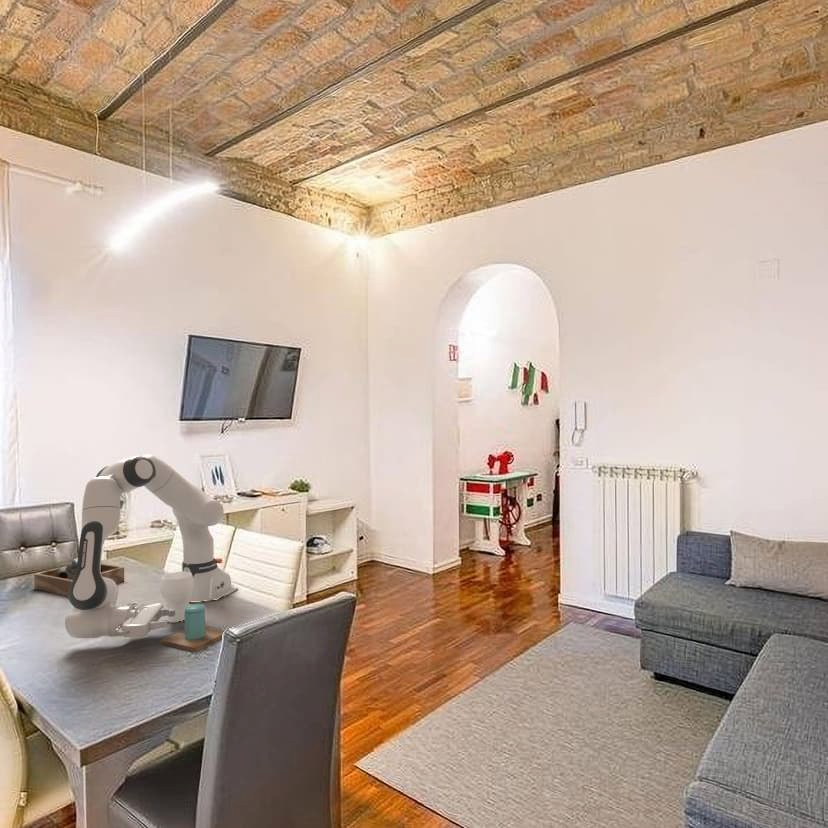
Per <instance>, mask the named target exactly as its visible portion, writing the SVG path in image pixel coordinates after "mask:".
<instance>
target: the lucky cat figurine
mask: <svg viewBox="0 0 828 828" xmlns="http://www.w3.org/2000/svg"><path fill="white" fill-rule="evenodd" d="M77 560H78V557H75V558H74V559H73V560H72V561H71V563H68V565H65V566H66V567H64V566H62V567H63V568H61V569H59V570H58V571H57V572H56V574H55V575H54V576H55V577H59V578H64V579H69V580H73V579H74V577H75V574H76V569H77Z"/></svg>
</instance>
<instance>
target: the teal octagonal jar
mask: <svg viewBox="0 0 828 828" xmlns="http://www.w3.org/2000/svg"><path fill="white" fill-rule="evenodd" d="M184 615H185V621H184V630H185V639H189V640H193V639H200V638H202V637H204V636H205V635H206V627H207V626H206V605H205V604H202V603H195V604H193V603H192V604H188V606H187V607H185V613H184Z"/></svg>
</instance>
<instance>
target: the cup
mask: <svg viewBox="0 0 828 828" xmlns="http://www.w3.org/2000/svg"><path fill="white" fill-rule="evenodd" d="M193 588H194V580H193V576H192V573H190V572H182V571H174V572H169V573H166V574H164V575H162V578H161V582H160V593H161V595H162V598H163V599H164V602H165V604H166V609H169V610H176V614H175V616H173V617H169V616H165V617H166V618H165V620H168V623H180V622H179V621H181V622H184V621H183V620H185V615H184V613H185V607H187V606H189V605H190V603H189V599H190V597H191V595H192V592H193Z"/></svg>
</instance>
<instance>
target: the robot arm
mask: <svg viewBox="0 0 828 828" xmlns="http://www.w3.org/2000/svg"><path fill="white" fill-rule="evenodd" d="M140 487H141V488H142V487H144V488H145V489H147V490H148V491H149V492H150V493H152V494H153V495H154V496H155V497H157V498H158V499H159V500H160V501H161V502H163V503H164V504H165V505H167V506H169V507H171V509H172V513H173V516H175V518H176V520H177V524H178V528H179V530H180V535H181V541H182V555H183V556H182V557H183V560H182V562H181V563H182V564H181V570H182V571H181V572H190V573H192V576H193V580H194V588H193V592H192V595H191V597H190V599H189V602H191V601H204V600H214V599H218V598H220V597H222V596H224V595H226V596H228V595H230V594H231V593H233V592H235V591H237V590H238V588H239V587H238V586H237V585H235V584H233V583H232V579H231V578H232V577H231V575H230V574H229V573H228V572H226V571H225V570H224V569H222V568H220V567H219V566H218V564H220V565H221V564H222V562H223V558H222V557H221V558H219V557H216V558H215V554H214V553H215V550H214V549H215V545H214V541H215V540H214V537H213V535H212V534H211V532H210V530H209V527H213V526H216V525H217V524H219V523H220V522H221V521H222V519H223V517H224V514H225V510H224V509H225V508H224V506H223V504H222V503H221V502H220V501H219V500H217V499H215V498H213V497H212V496H211V495H209V494H208V493H206V492H205V491H203V490H202V489H200V488H199V487H197V486H196V485H194V484H192V483H191V482H190V481H188V480H187V479H186V478H185V477H183V476H182V475H181V474H180V473H178V472H177V471H176V469H174V468H173V467H171V465H169V464H168V463H166V462H165V461H163V460H162V459H161V458H159V457H158V456H156V455H153V454H144V455H142V456H141V455H135V456H130V457H128V458H122V459H120V460H118V461H116V462H114V463H112V464H110V465H107V466H104V467H103V468H102V469H101V470H99V471H98V473H97V474H96V475H95V477H94V478H91V479H90V480H89V481H87V483H86V485H85V489H84V494H83V499H82V509H81V531H80V536H79V537H80V538H79V544H78V553H77V558H78V560H77V569H76V574H75V577H74V579H73V581H72V583H71V585H70V588H69V591H68V596H67V597H68V600H69V603H70V604H71V605H72V609H71V610H70V611H69V612H67V614H66V616H65V623H64V625H65V630H66V632H67V634H68V635H69V636H70V637H72V638H74V639H85V640H86V639H98V638H101V637H110V638H118V637H124V638H142V637H147V636H148V635H149V633H150V632H151V631H155V630H158V629H163V628H167V626H168V625H169V622H168V620H166V619H161V618H162V617H166V616H169V617H173V616H175V614H176V610H169V609H167V608H164V606H165V605H164V604H163V603H161V602H143V603H139V602H138V601H132V602H130V603H128V604H125V605H121V606H116V603H117V600H118V596H119V595H118V594H119V587H118V583H117V584H116V583H115V581H113V580H112V579H110V578H106V577H102V575H101V571H100V569H101V563H102V557H103V546H104V544H105V542H106V540H107V539H109V537H111V536H112V535H114V534H115V533H116V532H117V530H118V528H119V527H120V525H119V524H120V522H121V521H120V520H121V497H122V494H126V493H130V492H132V491H134V490H136V489H139V488H140ZM224 597H225V596H224ZM160 619H161V621H159V620H160Z"/></svg>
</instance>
